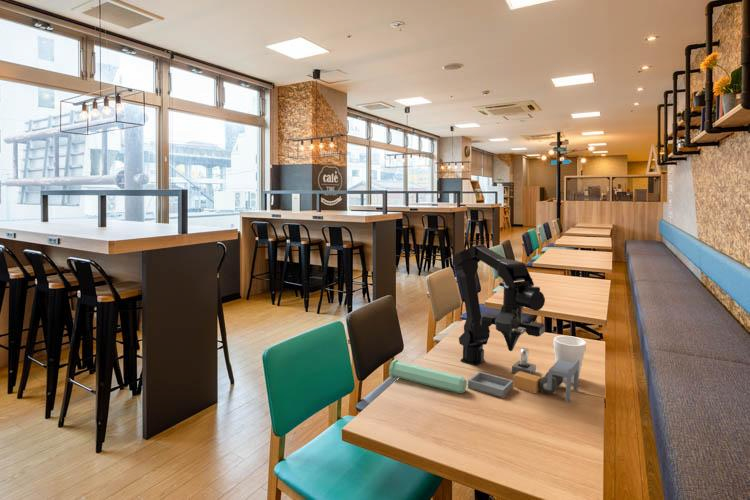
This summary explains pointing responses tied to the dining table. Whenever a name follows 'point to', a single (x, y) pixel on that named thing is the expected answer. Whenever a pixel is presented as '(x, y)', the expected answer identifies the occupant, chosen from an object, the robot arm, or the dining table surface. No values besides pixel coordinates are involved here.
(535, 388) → the block
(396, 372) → the container
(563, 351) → the foam cup
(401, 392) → the dining table surface
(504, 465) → the dining table surface
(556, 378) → the grey wheeled cart
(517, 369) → the pin bracket
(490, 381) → the tray
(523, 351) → the pin
